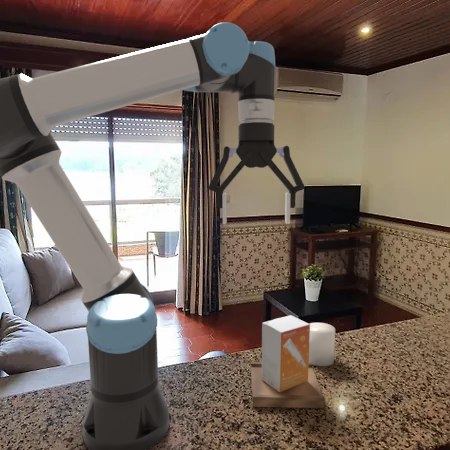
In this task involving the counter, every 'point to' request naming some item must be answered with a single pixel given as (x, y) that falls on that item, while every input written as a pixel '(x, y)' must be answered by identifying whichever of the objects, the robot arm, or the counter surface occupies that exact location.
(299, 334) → the small box
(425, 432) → the counter surface
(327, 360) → the white cylinder
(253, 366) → the walnut board
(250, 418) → the counter surface
